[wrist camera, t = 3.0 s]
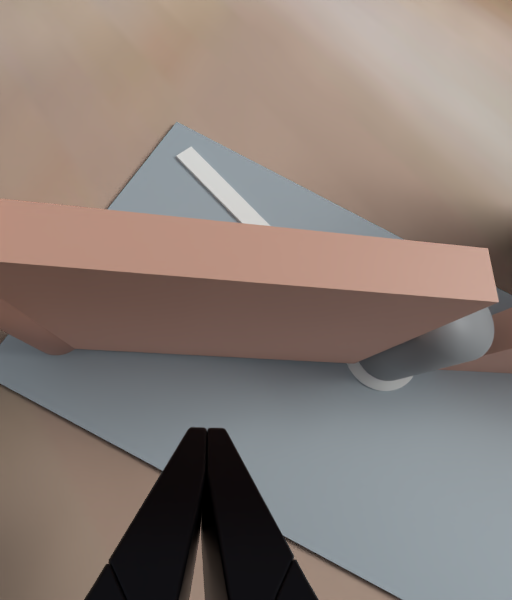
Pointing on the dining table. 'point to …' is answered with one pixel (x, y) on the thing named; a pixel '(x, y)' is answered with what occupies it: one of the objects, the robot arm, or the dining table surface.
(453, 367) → the fixed fence section
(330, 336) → the fence panel
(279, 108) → the dining table surface
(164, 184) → the board
